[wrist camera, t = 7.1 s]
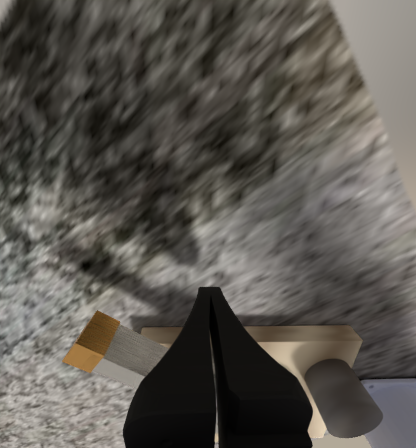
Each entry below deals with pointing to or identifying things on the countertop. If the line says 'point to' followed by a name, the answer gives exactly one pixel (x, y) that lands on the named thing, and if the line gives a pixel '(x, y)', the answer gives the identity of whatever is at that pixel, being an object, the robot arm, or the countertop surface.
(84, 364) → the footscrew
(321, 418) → the base
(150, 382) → the robot arm
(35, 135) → the countertop surface
